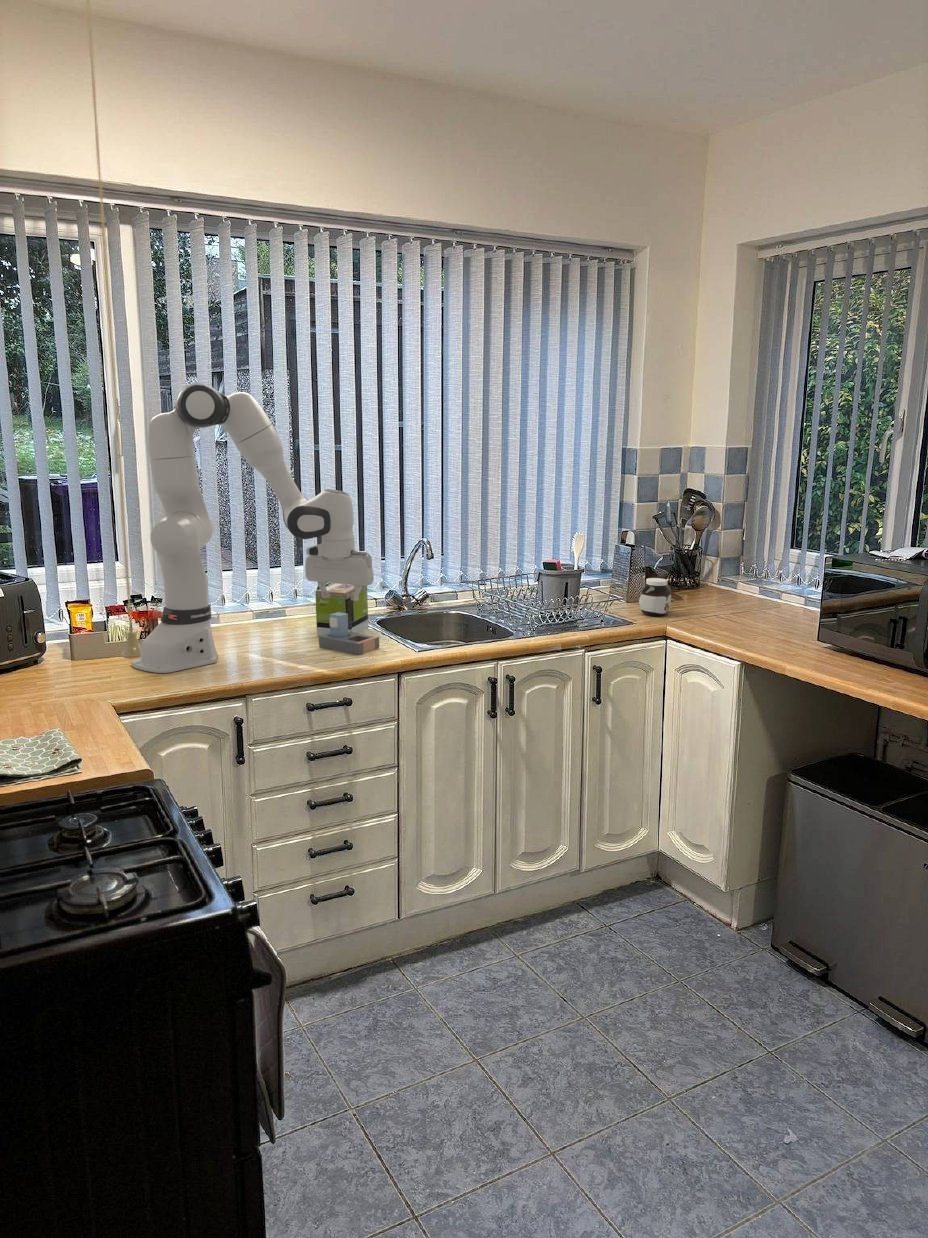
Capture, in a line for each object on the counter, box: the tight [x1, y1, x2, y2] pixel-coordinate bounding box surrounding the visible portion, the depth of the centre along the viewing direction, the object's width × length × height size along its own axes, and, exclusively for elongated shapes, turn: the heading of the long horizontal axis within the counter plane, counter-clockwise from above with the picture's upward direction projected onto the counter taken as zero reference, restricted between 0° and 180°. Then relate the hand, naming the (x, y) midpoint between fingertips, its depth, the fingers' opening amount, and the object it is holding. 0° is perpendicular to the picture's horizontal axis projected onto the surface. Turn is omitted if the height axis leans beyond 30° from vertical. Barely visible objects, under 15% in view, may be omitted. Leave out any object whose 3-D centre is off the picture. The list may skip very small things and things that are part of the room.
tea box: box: [314, 583, 369, 637], centre depth 274 cm, size 15×10×15 cm
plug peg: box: [330, 612, 348, 638], centre depth 259 cm, size 4×4×9 cm
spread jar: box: [638, 577, 672, 618], centre depth 310 cm, size 12×11×12 cm
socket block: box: [318, 632, 380, 656], centre depth 258 cm, size 9×14×4 cm, turn 58°
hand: (340, 599), depth 257 cm, fingers open, 8 cm apart
